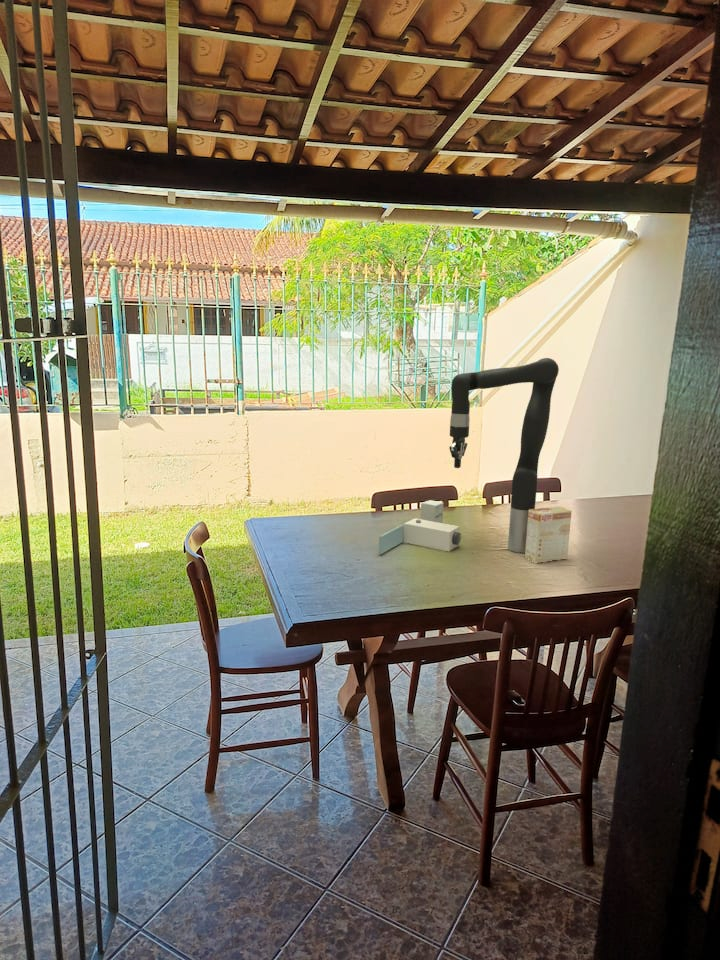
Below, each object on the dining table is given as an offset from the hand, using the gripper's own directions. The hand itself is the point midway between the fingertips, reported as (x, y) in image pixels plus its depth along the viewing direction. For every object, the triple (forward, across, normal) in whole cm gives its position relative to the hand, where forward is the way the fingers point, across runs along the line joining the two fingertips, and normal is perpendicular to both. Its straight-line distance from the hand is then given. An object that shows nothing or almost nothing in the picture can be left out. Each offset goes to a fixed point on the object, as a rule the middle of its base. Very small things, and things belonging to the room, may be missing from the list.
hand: (457, 467), depth 251 cm
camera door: (+30, +23, -16) cm, 41 cm away
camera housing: (+31, +9, -6) cm, 33 cm away
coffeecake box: (+31, -1, +38) cm, 49 cm away
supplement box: (+31, -8, -14) cm, 35 cm away
